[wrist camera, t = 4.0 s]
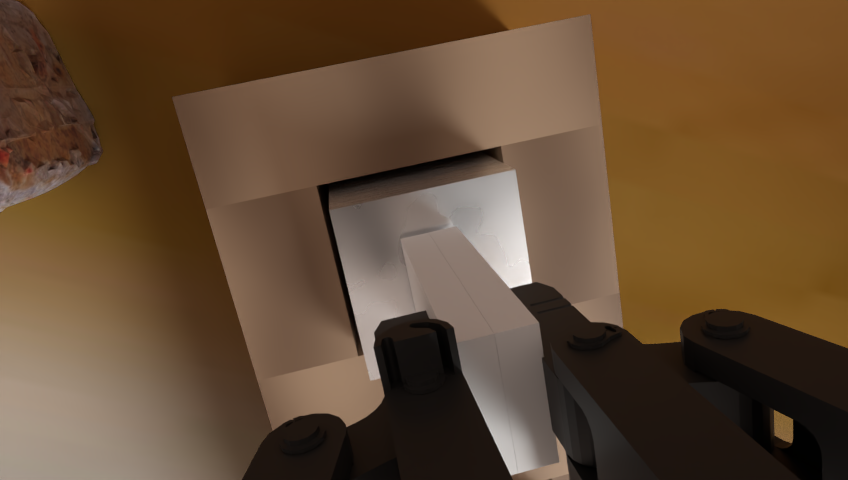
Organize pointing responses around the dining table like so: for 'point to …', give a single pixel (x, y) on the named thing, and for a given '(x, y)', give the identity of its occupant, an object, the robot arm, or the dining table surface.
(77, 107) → the food item
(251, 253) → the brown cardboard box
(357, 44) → the dining table surface
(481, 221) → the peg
